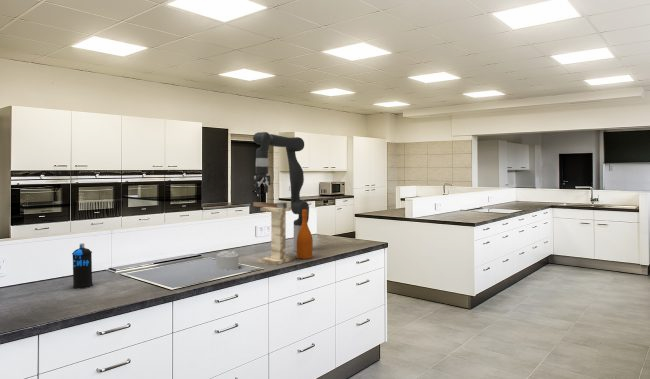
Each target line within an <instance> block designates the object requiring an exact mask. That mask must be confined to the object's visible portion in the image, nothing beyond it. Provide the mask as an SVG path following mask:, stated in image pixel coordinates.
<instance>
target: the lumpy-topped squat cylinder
mask: <svg viewBox="0 0 650 379" xmlns="http://www.w3.org/2000/svg"><path fill="white" fill-rule="evenodd" d="M215 258H216V268H217V269H219V268H220V270H224V269H234V270H237V269H236V268H238V267H240V266H239V253H237V252H236V250H232V251H229V250H224V251H220V252H219V253H217V254H216V257H215ZM238 269H239V268H238Z"/></svg>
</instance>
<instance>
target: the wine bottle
mask: <svg viewBox="0 0 650 379" xmlns="http://www.w3.org/2000/svg"><path fill="white" fill-rule="evenodd" d="M302 217H303V219H302V225H301V228H300V231H299V233H298V236H297V251H296V257H297V259H299V260H309V259H312V258H313V244H314V243H313V240H314V239H313V235H312V233H311V230H310V228H309V225H308V223H307V210H306V209H303V210H302Z"/></svg>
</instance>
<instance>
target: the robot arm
mask: <svg viewBox="0 0 650 379" xmlns="http://www.w3.org/2000/svg"><path fill="white" fill-rule="evenodd" d="M252 140H253V142H254V143H255V144H257V145H260V147H258V148H256V149H255V150H256V151H255V174H256V175H253V179H252V180H253V182H252V185H253V186H254V187H255V194H260V192H261V190H260V188H261V187H260V186H261V185H262V184H263V186H264V187H263V188H264V190H263V192H264V193H267V194H268V193H269V187H270V186H271V175H268V174H269V159H268V158H269V150H270V147H277V148H285V150H286V156H287V162H288V170H289V171H288V172H289V173H288V174H289V182H290V207H291V212H292V213H293V215H298V217H297V219H294V220H293V251H294V252H297V236H298V233H299V231H300V228H301V225H302V219H303V217H302V210H303V209H306V210H307V224H308V222H309V219H310V218H309V217H310V205H309V203H308V201H305V200H301V197H300V196H301V195H300V194H301V190H302V187H303V186H304V183H305V182H304V181H305V176H304V170H303V168H302V165H300V162H299V161H298V158H297V156H296V155H297V154H296V152H301V151H303V150H304V148H305V140H304V139H303V138H302V137H298V136H293V137H288V136H284V135H283V136H282V135H278V134H272V133H271V134H270V133H269V132H267V131H263V132H262V131H261V132H255V133H254V134H253V137H252Z"/></svg>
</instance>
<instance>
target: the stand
mask: <svg viewBox="0 0 650 379" xmlns="http://www.w3.org/2000/svg"><path fill="white" fill-rule="evenodd" d="M290 211H291V212H292V210H291V206H287V208H273V207H260V212H265V213H266V212H269V213H271V214H270V216H271V219H270V220H271V221H270V222H271V223H270V224H271V226H270V227H271V230H270V231H271V232H270V234H271V237H270V238H271V240H270V242H271V244H270V245H271V247H270V249H271V252H270V253H271V255H268V256H266V257H262V258H259V259H258V263H260V264H267V265H272V266H278V265H282V264H285V263H288V262H291V261H293V256H290V255H286V253H287V252H286V247H287V246H286V244H287V242H286V239H287V238H286V237H287V236H286V233H287V230H286V228H287V226H286V225H287V224H286V221H287V220H286V219H287V217H286V215H287V214H286V213H287V212H290Z"/></svg>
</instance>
